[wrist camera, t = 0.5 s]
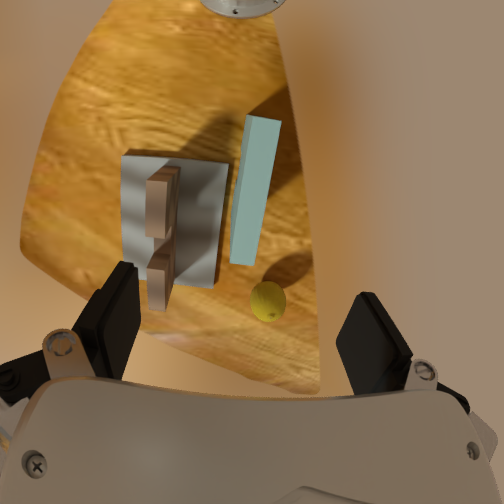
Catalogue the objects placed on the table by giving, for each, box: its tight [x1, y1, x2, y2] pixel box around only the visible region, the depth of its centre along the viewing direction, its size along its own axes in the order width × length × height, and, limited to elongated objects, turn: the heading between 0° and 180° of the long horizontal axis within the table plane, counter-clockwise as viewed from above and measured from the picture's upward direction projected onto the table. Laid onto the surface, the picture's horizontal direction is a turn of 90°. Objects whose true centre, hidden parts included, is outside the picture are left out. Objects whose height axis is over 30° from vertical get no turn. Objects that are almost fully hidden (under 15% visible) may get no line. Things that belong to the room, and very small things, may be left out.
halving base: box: [121, 155, 229, 312], centre depth 36 cm, size 20×15×9 cm
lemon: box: [250, 281, 286, 322], centre depth 43 cm, size 6×6×8 cm
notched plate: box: [230, 115, 282, 266], centre depth 30 cm, size 14×2×14 cm, turn 171°
